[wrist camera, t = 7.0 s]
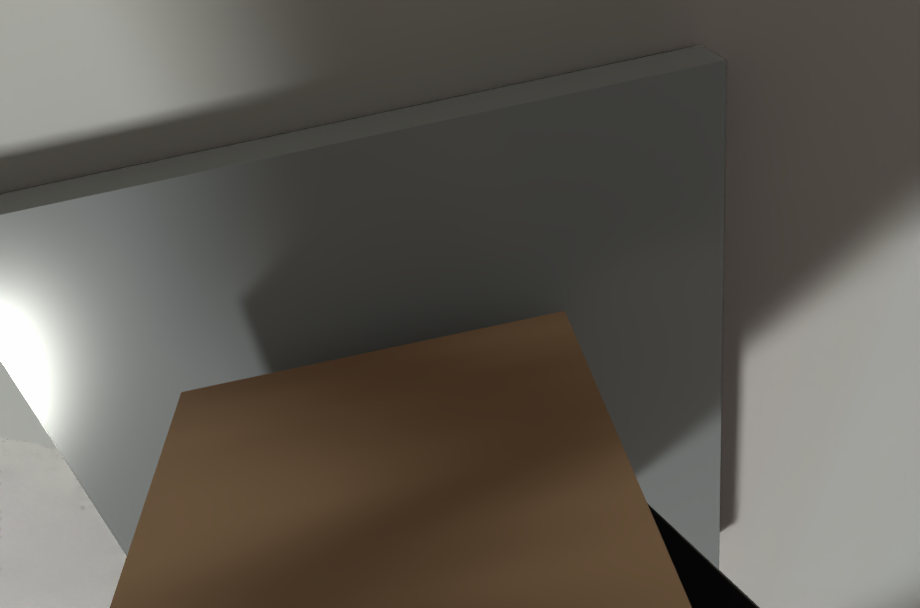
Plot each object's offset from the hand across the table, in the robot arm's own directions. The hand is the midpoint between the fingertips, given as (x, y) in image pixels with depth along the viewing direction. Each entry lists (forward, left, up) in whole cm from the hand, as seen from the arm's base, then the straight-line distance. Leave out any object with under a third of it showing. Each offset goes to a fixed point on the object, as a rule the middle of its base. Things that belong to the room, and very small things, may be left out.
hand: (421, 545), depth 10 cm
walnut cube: (0, 0, -1) cm, 1 cm away
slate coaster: (0, 0, -3) cm, 3 cm away
